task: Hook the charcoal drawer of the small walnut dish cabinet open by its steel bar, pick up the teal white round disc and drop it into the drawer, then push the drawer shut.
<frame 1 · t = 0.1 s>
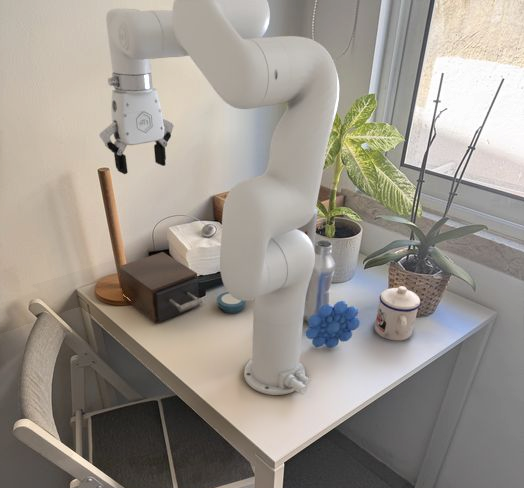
hand: (142, 168, 113), 31 cm above the table, tool pointing down, fingers open, 9 cm apart
thermos bottle: (294, 291, 134), on the table
teal white round disc: (231, 307, 126), on the table
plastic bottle: (314, 320, 123), on the table
blue knobbly flower: (328, 345, 115), on the table
dish cabinet: (160, 302, 127), on the table
drawer: (169, 293, 122), point 5 cm above the table, slide at 0.0 cm
teacup with lid: (393, 335, 120), on the table
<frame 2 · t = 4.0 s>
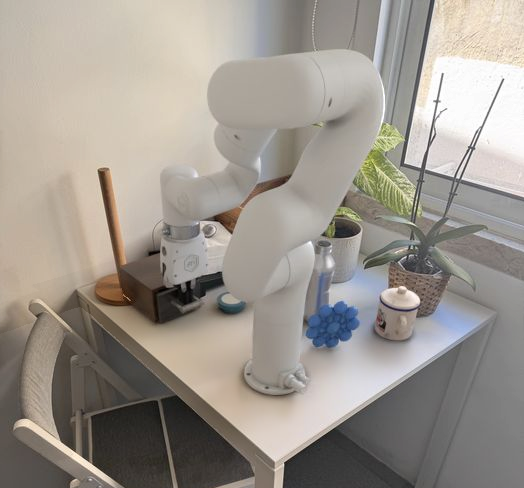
hand: (186, 302, 118), 5 cm above the table, tool pointing down, fingers closed
drawer: (170, 294, 122), point 5 cm above the table, slide at 0.7 cm
everything else where it was.
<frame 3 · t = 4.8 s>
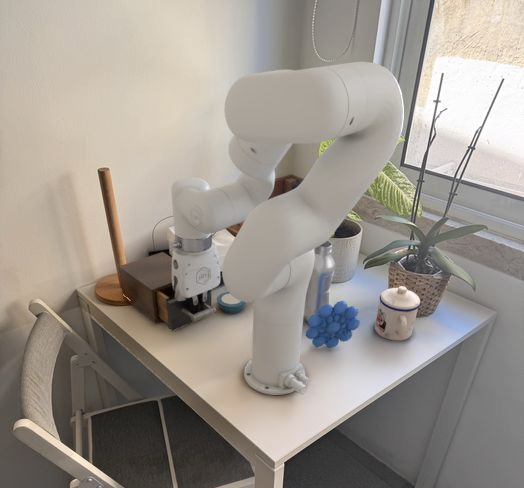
hand: (197, 315, 116), 4 cm above the table, tool pointing down, fingers closed
drawer: (181, 301, 119), point 5 cm above the table, slide at 5.0 cm, touching gripper
everything else where it was.
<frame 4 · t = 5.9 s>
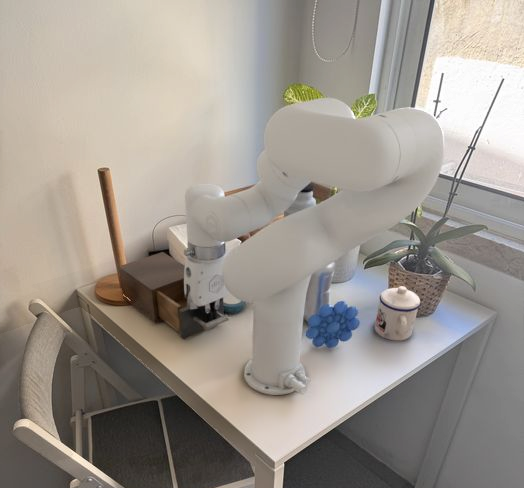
hand: (209, 323, 114), 4 cm above the table, tool pointing down, fingers closed
drawer: (192, 309, 117), point 5 cm above the table, slide at 9.4 cm
everything else where it was.
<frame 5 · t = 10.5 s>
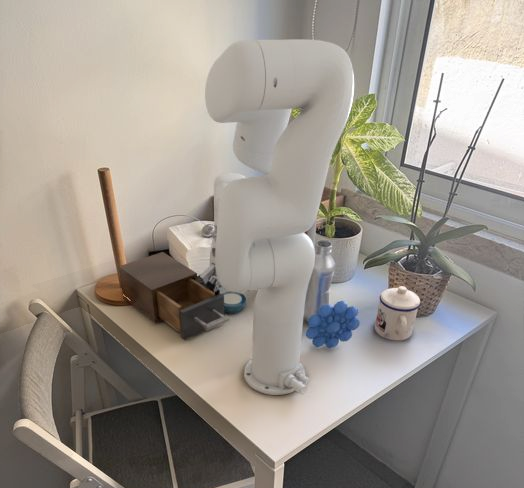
hand: (230, 295, 125), 3 cm above the table, tool pointing down, fingers open, 9 cm apart
nothing on the table moved.
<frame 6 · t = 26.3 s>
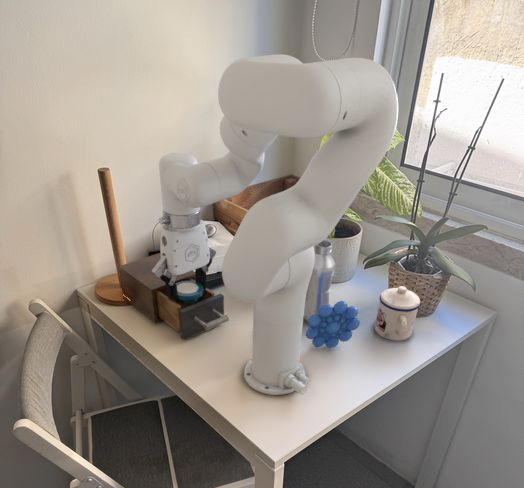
hand: (187, 292, 116), 8 cm above the table, tool pointing down, fingers closed on teal white round disc, 7 cm apart
teal white round disc: (187, 298, 116), point 7 cm above the table, touching gripper
everything else where it was.
when the fingers open (10 cm above the table, at t = 35.2 s): teal white round disc drops 7 cm, resting on drawer.
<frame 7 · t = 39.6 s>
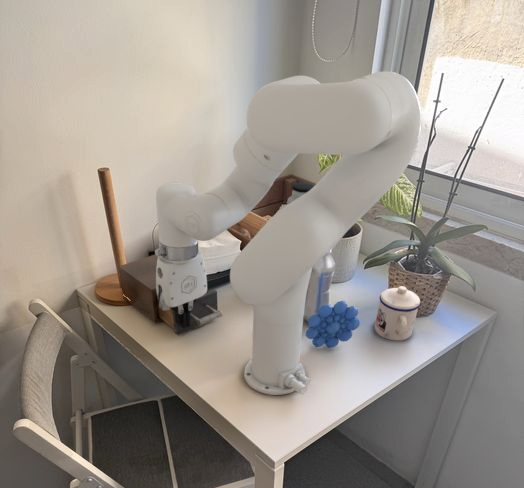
hand: (183, 324, 112), 4 cm above the table, tool pointing down, fingers closed
teal white round disc: (183, 311, 121), point 2 cm above the table, touching drawer
drawer: (186, 305, 118), point 5 cm above the table, slide at 7.2 cm, touching gripper, teal white round disc
everything else where it was.
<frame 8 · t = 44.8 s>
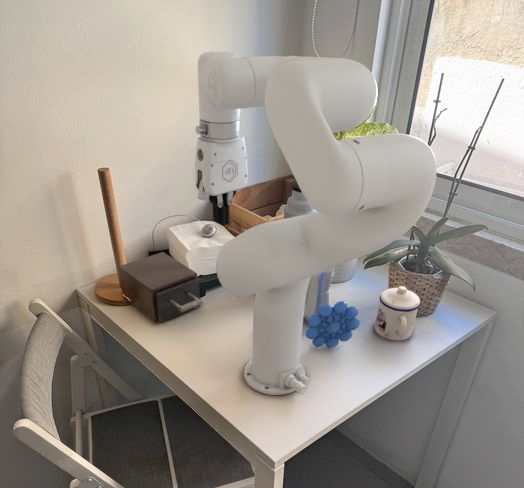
hand: (221, 222, 106), 25 cm above the table, tool pointing down, fingers closed
teal white round disc: (167, 299, 125), point 2 cm above the table, touching drawer
drawer: (169, 293, 122), point 5 cm above the table, slide at 0.3 cm, touching teal white round disc
everything else where it was.
at the end: drawer pulled out 10.0 cm at the most during the clip, back to 0.3 cm at the end; teal white round disc inside the target area in the dish cabinet (2.6 cm from its centre), point 2.0 cm above the dish cabinet's base; drawer slide at 0.3 cm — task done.
